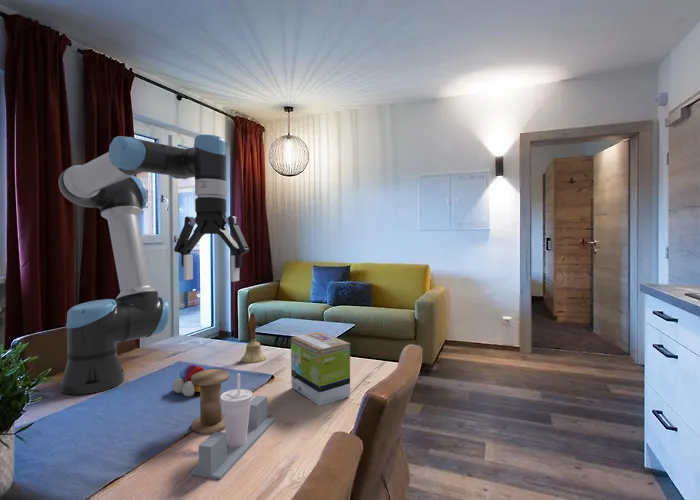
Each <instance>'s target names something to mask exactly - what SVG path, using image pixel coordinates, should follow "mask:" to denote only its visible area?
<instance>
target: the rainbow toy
mask: <svg viewBox="0 0 700 500" xmlns="http://www.w3.org/2000/svg"><path fill="white" fill-rule="evenodd" d="M204 370H205V369H204V368H203V366H198V365H197V364H194V363H192V364H191V363H190V364H188V365H187V366H186V367H184V368H182V369H181V370H180V372H179V377H178V378H176V379H175V380H174V381H173V383H172V390H173V391H174V392H175V393H177V394H183V395H184V397H190V396H191V397H193V396H194V394H195V393H200V385H195V384H193V383H192V382H191V376H192V375H193V374H195V373H197V372H200V371H204ZM191 397H190V398H191Z"/></svg>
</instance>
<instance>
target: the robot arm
mask: <svg viewBox="0 0 700 500" xmlns="http://www.w3.org/2000/svg"><path fill="white" fill-rule="evenodd" d="M226 150H227V149H226V141H225V139H224V138H222V137H221V136H218V135H214V134H199V135H196V136H195V138H194V142H193V147H188V148H183V147H178V146H173V145H169V144H164V143H158V142H154V141H150V140H144V139H139V138H137V137H134V136H122V135H118V136H116V137H114V138H113V139H112V141H111V143H110V144H109V149H108V151H107V152H105V153H104V154H102V155H100V156H98V157H96V158H93V159H91V160H90V161H89V162H87V163H84V164H75V165H74V164H73V165H72V166H70V167H68V168H66V169H65V170H63V172H62V173H61V174H60V175H59V178H58V188H59V191H60V192H61V194H62V196H64V198H65V199H67V200H69V202H71V203H73V204H75V205H77V206H80V207H84V208H94V209H99V211H100V215H101V217H102V218H104V219H106V220H107V224H108V228H109V229H108V230H109V234H110V235H109V237H110V240H111V247H112V251H113V257H114V264H115V269H116V274H117V275H116V276H117V280H118V285H119V291H120V292H119V294H118V295H117V296H116V298H115V299H113V298H104V299H103V298H102V299H95V300H91V301H85V302H83V303H80V304H76V305H74V306H72V307H71V308H69V309H68V310H67V312H66V313H67V315H66V323H65V327H66V343H67V344H66V347H67V348H66V349H67V362H66V365H65V368H64V372H63V376H62V378H61V380H60V381H59V388H60V392H61V393H62V392H63V393H62V394H64V393H65V394H64V395H69V394H72V395H73V396H75V395H76V396H78V395H79V396H80V395H89V394H88V393H90V394H94V393H95V392H96V393H99V392H104V391H107V390H110V389H113V388H115V387H118V386H119V385H121V384H123V383H124V381H125V371H124V369H123V367H122V365H121V364H122V363H121V362H120V359H119V355H118V349H117V347H118V344H119V343H123V342H129V341H133V340H138V339H142V338H150V337H152V336H156V335H159V334H161V333H163V332H164V331H165V329H166V328H167V326H168V323H169V320H170V305H169V303H168V301H166V299H165V298H164V297H162V296H159V293H158V290H156V289H155V288H154V287H153V286H152V284H151V279H150V273H149V269H148V263H147V258H146V253H145V248H144V247H145V246H144V242H143V238H142V237H143V236H142V232H141V227H140V221H139V217H140V216H141V214H142V212H143V209H144V208H145V207H146V206H147V202H148V200H147V199H148V193H147V192H148V191H147V189H146V186H145V183H143V181H142V180H141V179H140V178H139V177H137V176H136V175H139V174H141V173H151V174H157V175H158V174H159V175H165V176H170V177H171V178H173V179H177V180H178V179H180V180H181V179H182V180H187V179H190V178H194V195H195V196H196V198H195V199H194V212H195V213H196V215H195V217H193V216H185V217H184V224H183V227H182V229H181V231H180V234H179V236H178V239H177V241H176V244H175V246H174V248H173V251H174V252H175V253H179V254H180V258H181V260H180V261H181V267H182V268H183V281H189V280H193V279H194V263H193V260H194V258H193V257H194V255H193V254H192V251H193V250H194V249H195V247H196V246H197V244H198V243H199V241H200V240H201V239H202V237H203V236H204V235H218V236H219V237H221V239H222V240H223V242H224V243H225V244H226V246H227V247H228V248H229V249H230V251H231V252H232V253H233V254H232V255H230V281H231V282H233V283H234V282H239V281H240V269H241V268H242V267H243V255H244V254H247V253H249V252H250V248H249V246H248V244H247V241H246V239H245V236H244V234H243V233H242V231H241V229H240V226H239V220H238V217H237V216H234V215H233V216H232V215H229V216H228V217H227V216H226V212H227V200H226V198H225V197H227V151H226ZM226 224H227V225H228V226H229V229H230V232H231V233H232V236H233V237H234V238H233V237H232V236H231V234H230V233H229V230H228V229H227V228H226V227H225V226H226ZM195 225H196V227H195V228H194V226H195ZM192 232H193V233H192ZM117 385H118V386H117ZM112 387H113V388H112Z"/></svg>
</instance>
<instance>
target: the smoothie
mask: <svg viewBox="0 0 700 500" xmlns="http://www.w3.org/2000/svg"><path fill="white" fill-rule="evenodd" d="M236 374H237V375H236V386H237V388H235V389H230V390H227V391H224V392H223V393H221V396H220V403H221V412H222V414H223V417H224V424H225V429H224V431H225V433H227V444H228V446H230V447H238V446H242V445H243V444H245V443H246V439H247V430H248V422H249V413H250V404H251V401H252V400H253V399H254V398H253V397H254V396H253V392H252V391H251V390H250V389H246V388H241V373H240V372H239V373H236Z"/></svg>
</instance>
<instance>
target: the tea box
mask: <svg viewBox="0 0 700 500" xmlns="http://www.w3.org/2000/svg"><path fill="white" fill-rule="evenodd" d="M290 363H291V364H290V371H291V374H290V375H291V379H290V381H291V389H294V390H295V391H297V392H299V393H300V394H301V395H303V396H305V398H307V399H309V400H310V401H312V403H315V404H316V405H317V406H319V407H322V406H325V405H328V404H331V403H335V402H338V401H340V400H341V401H342V400H344V399H346V397H347V398H349V397H350V396H351V343H350V342H347V341H345V340H343V339H340V338H338V337H334V336H332V335H330V334H328V333H324V332H322V331H315V332H311V333H306V334H301V335H295V336H290Z"/></svg>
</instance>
